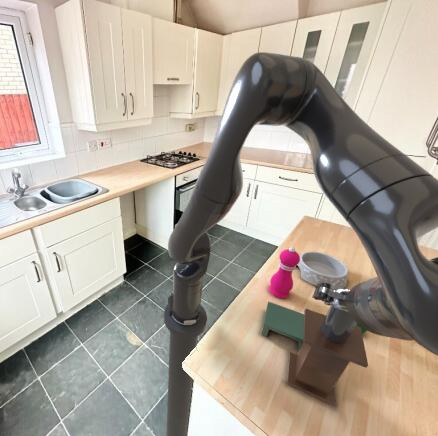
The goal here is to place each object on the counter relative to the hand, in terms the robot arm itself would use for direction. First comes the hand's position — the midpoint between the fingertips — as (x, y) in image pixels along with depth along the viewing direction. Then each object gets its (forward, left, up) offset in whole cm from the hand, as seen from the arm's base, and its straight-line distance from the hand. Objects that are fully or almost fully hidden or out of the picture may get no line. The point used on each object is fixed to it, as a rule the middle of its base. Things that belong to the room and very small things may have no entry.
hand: (355, 309), depth 45 cm
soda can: (+12, +29, -31) cm, 44 cm away
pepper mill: (-10, +34, -31) cm, 47 cm away
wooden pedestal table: (0, +5, -31) cm, 31 cm away
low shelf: (-7, +17, -31) cm, 36 cm away
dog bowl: (+3, +53, -31) cm, 61 cm away
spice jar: (0, +5, -13) cm, 14 cm away
